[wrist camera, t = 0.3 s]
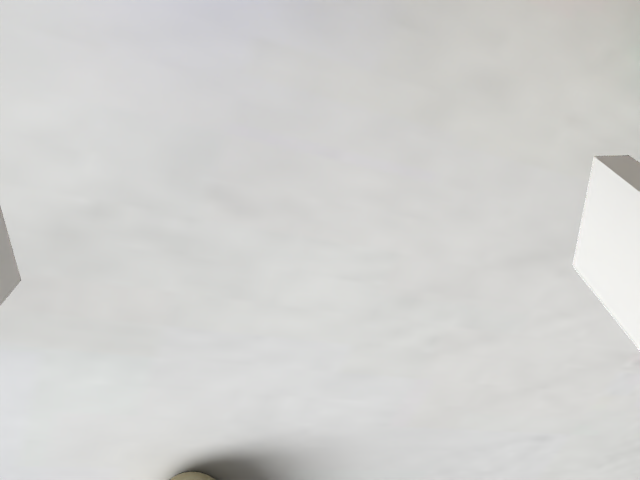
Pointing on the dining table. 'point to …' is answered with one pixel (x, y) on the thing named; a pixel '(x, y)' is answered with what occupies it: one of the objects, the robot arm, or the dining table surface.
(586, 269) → the robot arm
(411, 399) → the dining table surface
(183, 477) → the flower pot
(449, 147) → the dining table surface
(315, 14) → the dining table surface
